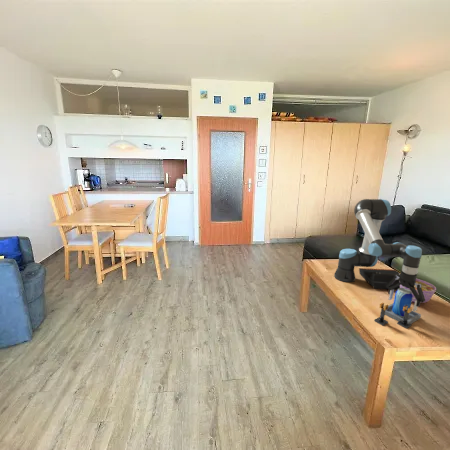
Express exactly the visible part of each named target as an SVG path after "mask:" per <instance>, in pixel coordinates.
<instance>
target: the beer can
mask: <svg viewBox="0 0 450 450" xmlns="http://www.w3.org/2000/svg"><path fill="white" fill-rule="evenodd" d="M394 293H395V294H394V297H393V299H394V300H393V302H392V304H393V308H392V312H393V313H394V315H396V316H399V317H401V318H403V317H404V313H405V311H403V306H405V305H407V306H408V307H407V310H408V308H410V307H412V303H413V302H412V297H413V295H412V292H411V291H410V290H408V289H405V288H398V290H395V292H394Z"/></svg>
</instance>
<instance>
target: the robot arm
mask: <svg viewBox="0 0 450 450" xmlns="http://www.w3.org/2000/svg"><path fill="white" fill-rule="evenodd" d="M391 213H392V205H391V203H390V201H389V200H387V199H381V198H380V199H379V198H378V199H377V198H371V199H369V198H363V199H361V200H359V201H358V202H357V203H356V205H355V206H354V213H353V214H354V216H355V218H356V219H357V220H358V221H359V223H360V226H361V227H362V229H363V232H364V235H363V236H364V237H363V240H362V244H361V247H359V248H358V251H357V250H356V249H354V248H343V249H341V250H340V251H339V255H338V261H337V268H336V270H335V272H334V275H333V277H334V278H335V279H336V280H338V281H340V282H344V283H353V282H355V281H356V275H355V267H356V268H357V267H359V268H372V267H375V266H376V265H377V263H378V261H379V259H378V257H398V258H401V259H403V261H402V266H401V271H400V274H401V275H400V277H398V275H396V276H394V278H393V279H392V280H391V281H390V282H389V283H388V284H387V285H386V287H387V288H388V289H387V290H388V293H387V294H388V295H389V296H388V299H387V300H389V301H391V300H393V298H394V297H393V296H394V293H395V291H394V290H393V288H395V287H397V286H399V285H402V286H403V287H406V288H409V289H410V290H411V291H412V293H413V295H414V296H415V298H416V301H415V302H414V303H413V304H414V305H413V307H412V311H414V312H417V310H418V307H420V306H421V302H424V301H425V297H424V294H423V291H422V288H421V287H422V285H421V284H417V283H416V282H415V281H416V279H417V276H418V275H417V274H418V272H419V267H420V262H421V258H422V255H423V253H422V252H423V249H422V248H421V247H420V246H416V245H413V244H412V245H406V244H404V243H402V242H400V241H399V242H398V241H396V242H393V243H385V241H384V239H383V238H382V235H381V234H380V229H381V226H382V222H383V221H385V220H386V218H387V217H389V216H390V215H391ZM398 279H399V281H400V283H398V284H396V285H394V286H392V287H391V285H392V284H393V283H394V282H395V281H396V280H398ZM414 285H415V286H416V287H417V291H418V293H417V291H416V289H415V287H414ZM418 294H419V295H418ZM424 303H425V302H424Z"/></svg>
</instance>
